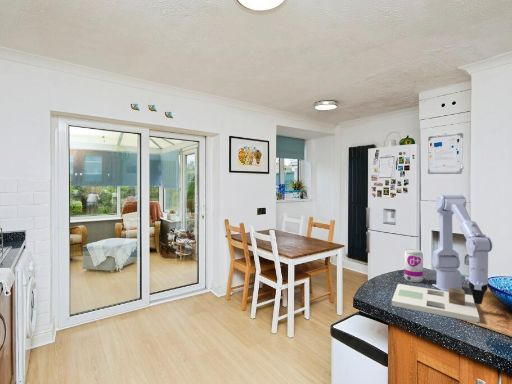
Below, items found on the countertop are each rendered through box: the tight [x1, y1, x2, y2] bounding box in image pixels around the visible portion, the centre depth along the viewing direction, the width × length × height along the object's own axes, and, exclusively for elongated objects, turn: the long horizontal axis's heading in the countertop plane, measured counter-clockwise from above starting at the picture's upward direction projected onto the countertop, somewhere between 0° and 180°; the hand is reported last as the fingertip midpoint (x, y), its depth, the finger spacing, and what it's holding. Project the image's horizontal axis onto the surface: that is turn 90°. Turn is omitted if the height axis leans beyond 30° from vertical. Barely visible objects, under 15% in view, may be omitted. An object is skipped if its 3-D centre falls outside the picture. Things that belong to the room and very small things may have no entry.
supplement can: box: [403, 248, 424, 283], centre depth 145 cm, size 8×8×15 cm
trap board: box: [391, 283, 480, 323], centre depth 118 cm, size 28×23×2 cm
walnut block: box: [448, 288, 465, 306], centre depth 113 cm, size 5×5×4 cm
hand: (477, 303), depth 110 cm, fingers closed
